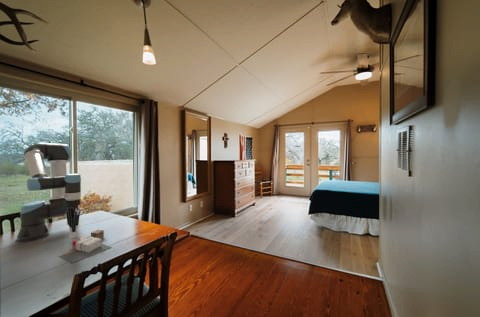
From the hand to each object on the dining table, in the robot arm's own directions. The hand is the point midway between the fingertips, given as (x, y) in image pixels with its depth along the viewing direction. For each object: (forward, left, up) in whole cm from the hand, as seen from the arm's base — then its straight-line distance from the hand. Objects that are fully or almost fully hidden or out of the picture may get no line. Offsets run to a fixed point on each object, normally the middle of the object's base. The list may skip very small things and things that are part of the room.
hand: (72, 236), depth 123 cm
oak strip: (+10, 0, -6) cm, 11 cm away
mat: (+16, 0, -6) cm, 17 cm away
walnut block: (+2, +13, -6) cm, 14 cm away
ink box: (+6, +1, -2) cm, 7 cm away
